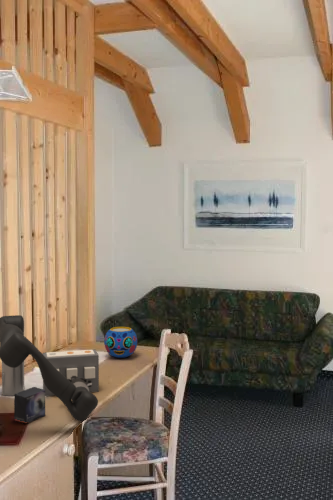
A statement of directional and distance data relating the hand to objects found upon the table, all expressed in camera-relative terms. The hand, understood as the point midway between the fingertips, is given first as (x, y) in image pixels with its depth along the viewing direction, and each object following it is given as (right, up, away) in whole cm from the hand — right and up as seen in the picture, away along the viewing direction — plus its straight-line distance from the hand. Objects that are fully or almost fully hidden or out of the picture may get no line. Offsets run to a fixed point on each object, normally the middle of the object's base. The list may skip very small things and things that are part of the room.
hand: (74, 378), depth 236 cm
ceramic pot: (+14, -4, +65) cm, 67 cm away
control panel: (-3, -8, +11) cm, 14 cm away
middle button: (-2, -1, +5) cm, 5 cm away
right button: (+6, -1, +7) cm, 9 cm away
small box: (-13, -11, -22) cm, 28 cm away
